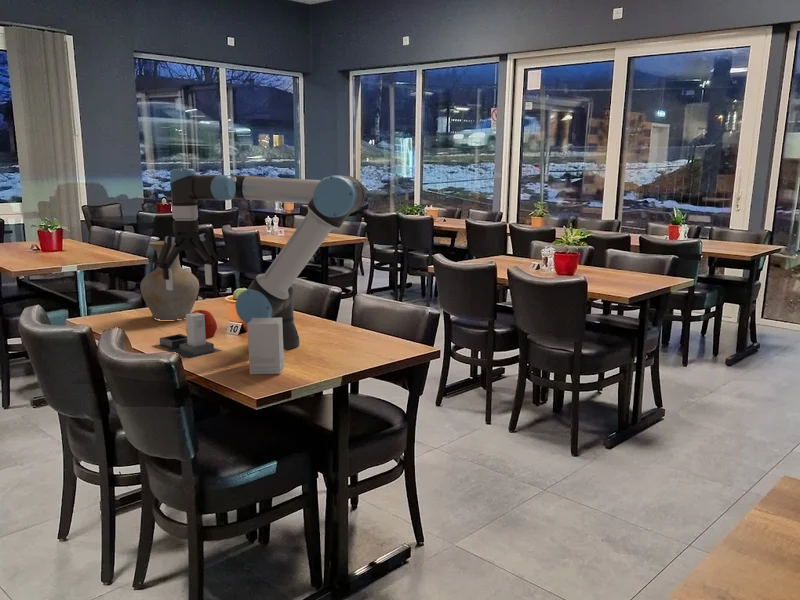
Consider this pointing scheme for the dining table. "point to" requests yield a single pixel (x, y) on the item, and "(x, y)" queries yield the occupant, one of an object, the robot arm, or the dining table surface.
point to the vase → (169, 301)
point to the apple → (208, 323)
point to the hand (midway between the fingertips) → (189, 287)
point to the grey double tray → (184, 346)
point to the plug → (195, 329)
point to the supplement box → (265, 345)
